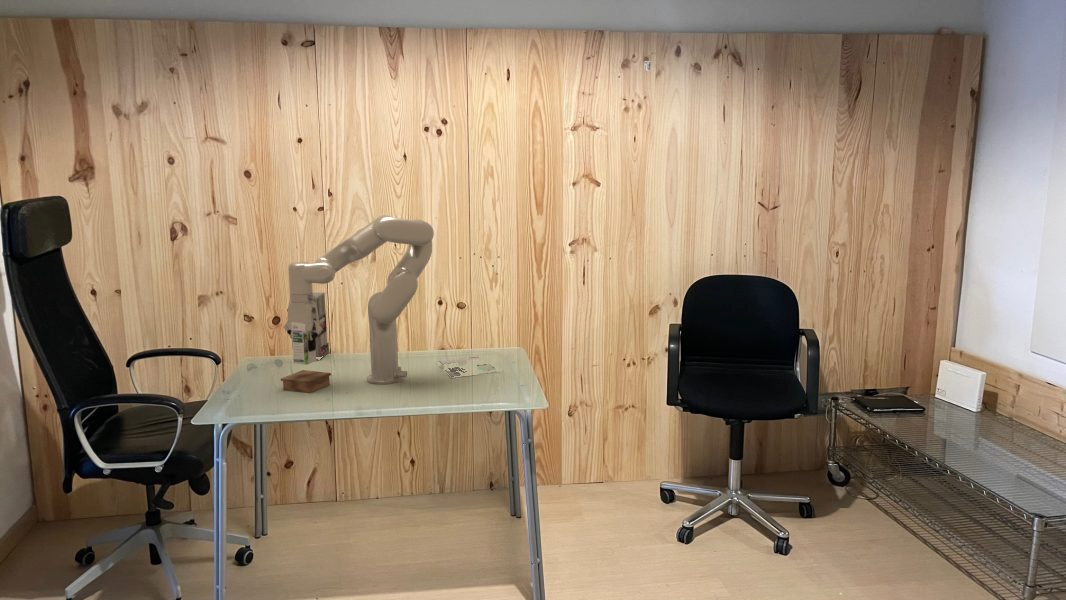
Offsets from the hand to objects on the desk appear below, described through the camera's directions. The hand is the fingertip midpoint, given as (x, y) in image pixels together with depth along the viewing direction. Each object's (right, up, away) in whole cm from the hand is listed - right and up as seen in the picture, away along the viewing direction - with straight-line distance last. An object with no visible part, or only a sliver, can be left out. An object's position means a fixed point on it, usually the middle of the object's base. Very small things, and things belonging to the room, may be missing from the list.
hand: (304, 349), depth 266 cm
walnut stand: (0, -13, +2) cm, 13 cm away
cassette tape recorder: (-8, -6, +47) cm, 48 cm away
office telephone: (+54, -9, +26) cm, 61 cm away
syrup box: (0, -5, +1) cm, 5 cm away
